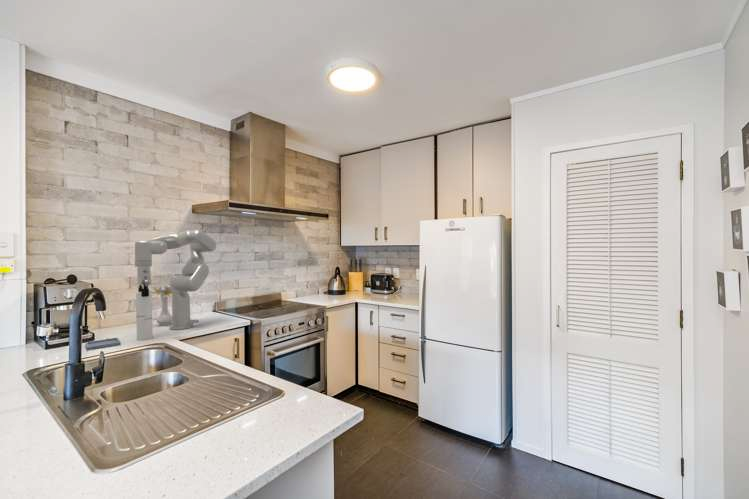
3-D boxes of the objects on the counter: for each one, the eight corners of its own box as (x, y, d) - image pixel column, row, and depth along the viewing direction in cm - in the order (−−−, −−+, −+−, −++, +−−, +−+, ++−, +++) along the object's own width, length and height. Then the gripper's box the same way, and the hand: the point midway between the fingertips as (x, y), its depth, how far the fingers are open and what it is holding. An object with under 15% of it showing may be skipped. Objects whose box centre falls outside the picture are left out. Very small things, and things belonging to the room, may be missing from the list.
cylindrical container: (138, 337, 184) (137, 291, 184) (153, 336, 187) (153, 290, 187) (135, 341, 177) (134, 293, 177) (151, 339, 180) (150, 292, 180)
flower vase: (144, 326, 213) (143, 286, 213) (176, 321, 227) (176, 283, 227) (150, 329, 205) (149, 287, 205) (183, 323, 218) (182, 285, 218)
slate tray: (117, 340, 179) (117, 337, 179) (120, 345, 170) (120, 342, 170) (85, 345, 171) (85, 342, 171) (86, 350, 161) (86, 347, 161)
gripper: (154, 263, 178) (155, 296, 178) (148, 263, 191) (148, 294, 191) (137, 264, 173) (137, 297, 173) (132, 263, 186) (132, 295, 186)
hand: (143, 295), depth 182 cm, fingers open, 9 cm apart
